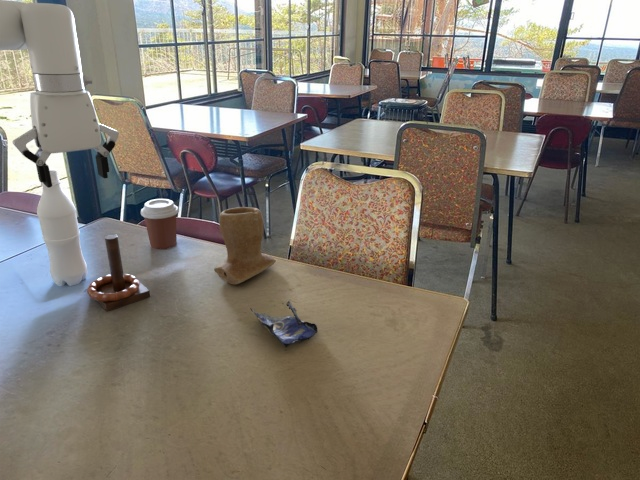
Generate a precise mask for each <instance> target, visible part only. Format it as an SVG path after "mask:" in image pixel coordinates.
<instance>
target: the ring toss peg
mask: <svg viewBox="0 0 640 480" xmlns="http://www.w3.org/2000/svg"><path fill="white" fill-rule="evenodd" d="M104 242H105V248H106V255H107V260H108V266H109V272H110V274H111V278H112V282H110V283H106V284H103V285H101V286H100V287H98V288H97V290H96V291H97V292H100V293H104V294H106V293H116V292H119V291H123V290H126V289H127V288H128V287H130V286H131V283H130V282H126V281H125V280H124V274H125V273H124V268H123V262H122V255H121V250H120V243H119V237H118V235H117V234H108V235H105V236H104ZM123 273H124V274H123ZM148 298H151V292H150V290H149V289H148V288H147V287H146V286H145V285H144V284H143V283H142V282H140V285H139V289H138V291H136V292H135V293H134V294H132V295H131V296H129V297H127V298H123V299H120V300H117V301H106V302H103V301H98V300H96V301H97V302H98V303H99V304H100V306H102V308H103V309H104V310H105V311H106V312H110V311H113V310H115V309H118V308H122V307H124V306H127V305H130V304H133V303H136V302H139V301H142V300H145V299H148Z"/></svg>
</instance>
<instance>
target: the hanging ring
mask: <svg viewBox="0 0 640 480" xmlns="http://www.w3.org/2000/svg"><path fill="white" fill-rule="evenodd" d="M123 274H124V280H125V281H126V282H130V283H131V286H130V287H128V288H127V289H126V290H123V291H119V292H116V293H106V294H104V293H100V292H97V291H96V290H97V288H98V287H100V286H101V285H103V284H106V283H110V282H112V278H111V273H110V274H107V275H104V276H100V277H98V278H97V279H95V280H93V281H91V282H90V283H89V285H88V288H87V289H86V294H87V295H88V296H89V297H90V299H92V300H94V301H97V300H98V301H103V302H106V301H117V300H120V299H123V298H127V297H129V296H131V295H132V294H134V293H135V292H136V291H138V289H139V285H140V283H141V281H140V280H139V279H138V277H136V276H135V275H133V274H128V273H124V272H123ZM98 301H97V302H98Z"/></svg>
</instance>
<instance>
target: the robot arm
mask: <svg viewBox="0 0 640 480" xmlns="http://www.w3.org/2000/svg"><path fill="white" fill-rule="evenodd" d="M20 50H21V51H22V50H25V51H26V50H27V53H28V59H29V63H30V68H31V69H30V70H31V74H32V79H33V84H34V89H35V91H32V92H30V95H29V100H30V101H29V103H30V119H31V127H32V128H31V129H29V130H28V131H26V132H24V133H23V134H21V135H19V136H18V137H16V138H15V139H13V140H12V144H13V145H14V147H15V148H16V149H17V151H19V152H20V154H21V155H22V156H23V157H25V158H26V159H27V160H29V161H31V162H32V163H33V164H35V167H36V172H37V177H38V181H39V183H40V184H41V183H42V182H43V184H44V185H45V186H47V187H48V188H49V187H51V186H52V181H51V176H50V171H51V170H50V166H49V165H48V164H47V163H46V162H47V160H48V159H49V157H50V156H51V155H52V154H60V153H70V152H79V151H87V150H94V151H95V152H96V154H95V157H94V158H95V163H96V169H97V175H98V176H100V177H101V178H103V179H108V178H109V174H108V173H109V172H110V166H109V165H110V164H109V160H108V157H109V156H110V153H111V152H112V151H113V149H114V148H115V147H116V143H117V141H118V138H119V135H120V132H119V131H118V130H117V129H114V128H111V127H109V126H106V125H104V124H101V123H99V119H98V116H97V112H96V109H95V105H94V102H93V99H92V96H91V93H90V91H89V90H86V89H87V86H88V85H92V84H93V78H92V76H91V75H86V74H85V73H84V72H83V68H82V61H81V55H80V48H79V42H78V36H77V30H76V22H75V17H74V13H73V11H72V10H71V8H70V7H69V6H67V5H64V4H59V3H47V2H23V1H16V0H0V51H20ZM102 133H104V134H106V135H107V140H106V141H104V143H103V144H102ZM33 140H34V143H35V146H36V147H37V148H38V149H36V152H35V153H34V152H32V151H30V149H29V148H28V146H27V144H29V143H30V142H32V141H33Z"/></svg>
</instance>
